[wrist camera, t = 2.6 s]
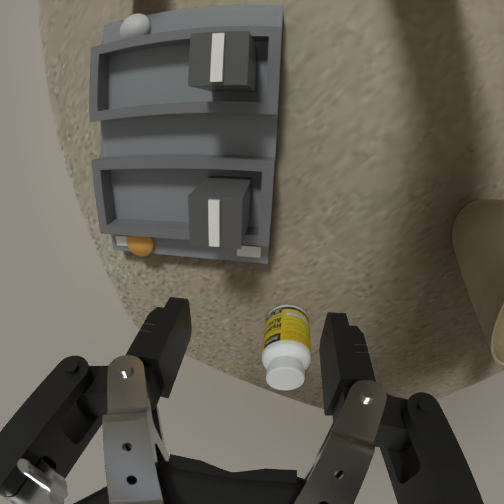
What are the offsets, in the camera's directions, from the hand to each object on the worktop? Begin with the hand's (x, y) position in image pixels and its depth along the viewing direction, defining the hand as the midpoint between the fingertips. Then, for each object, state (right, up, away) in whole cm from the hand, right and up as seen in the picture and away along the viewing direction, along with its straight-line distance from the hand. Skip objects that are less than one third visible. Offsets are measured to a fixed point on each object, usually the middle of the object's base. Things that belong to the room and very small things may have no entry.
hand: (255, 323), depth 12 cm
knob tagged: (-2, +8, +16) cm, 18 cm away
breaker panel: (-7, +15, +15) cm, 22 cm away
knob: (-2, +19, +10) cm, 21 cm away
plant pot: (+27, +6, +16) cm, 32 cm away
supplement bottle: (+4, -6, +25) cm, 26 cm away
